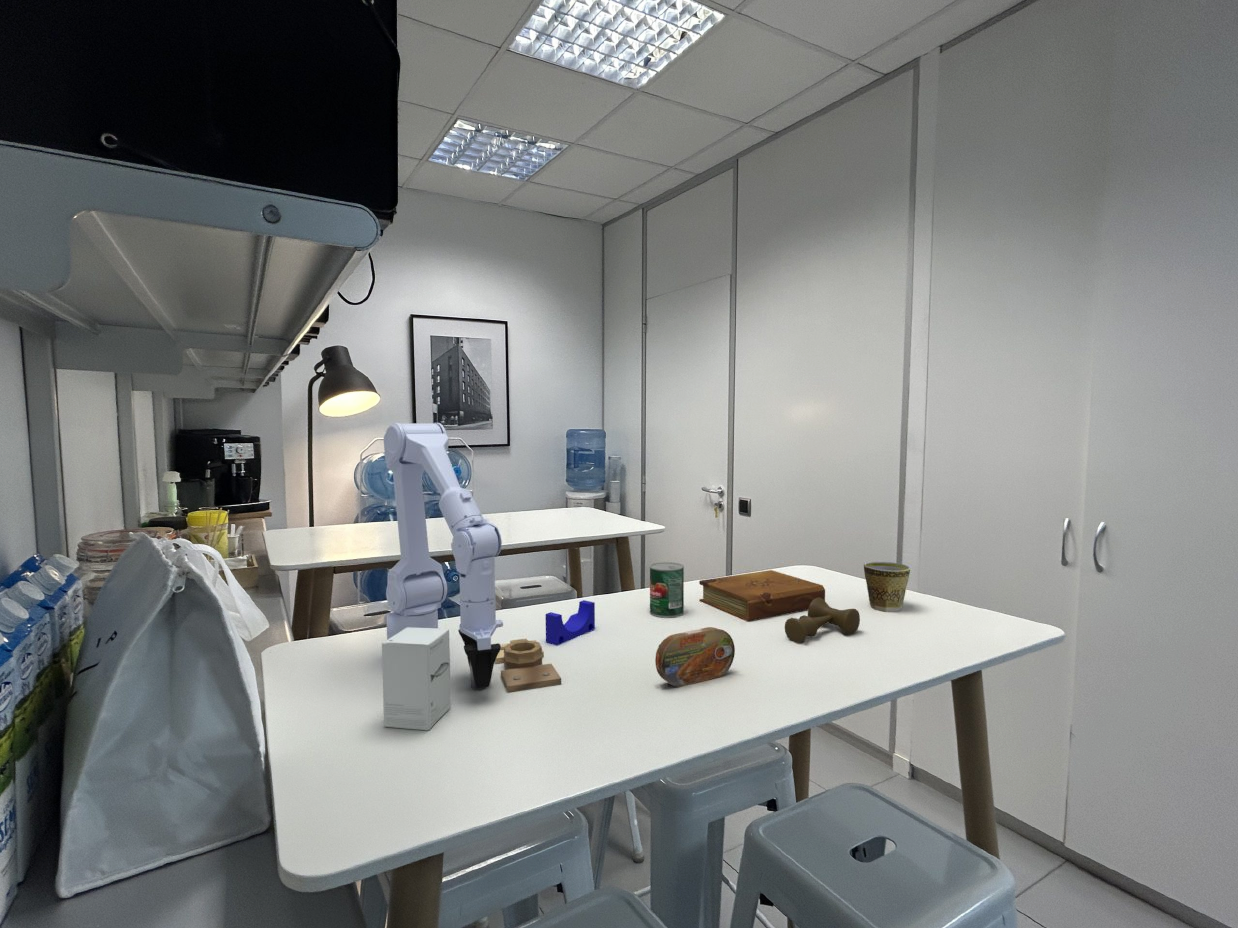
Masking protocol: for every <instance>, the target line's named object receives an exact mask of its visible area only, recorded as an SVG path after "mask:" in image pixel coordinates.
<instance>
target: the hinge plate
mask: <svg viewBox="0 0 1238 928" xmlns="http://www.w3.org/2000/svg"><path fill="white" fill-rule="evenodd" d="M503 666H504V669H503V670H500V677H501V680H502V682H503V684H504V687H505V689H506V692H507V693H512V692H519V691H520V692H521V691H525V690H531V689H539V688H544V687H552V686H557V685H559V686H560V685H562V678H561V676H560V674H559V673H558V670H556V669H555V667H554V665H553V664H552V663H544V664H543V657H541V658H539V659H538V660H536V661H535V662H529V663H522V664H517V663H511V662H506V660H505V658H504V663H503Z"/></svg>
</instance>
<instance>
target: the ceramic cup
mask: <svg viewBox="0 0 1238 928" xmlns="http://www.w3.org/2000/svg"><path fill="white" fill-rule="evenodd" d="M863 570H864V572H863V573H864V578H865V582H866V589H867V593H868V594H867V595H868V601H869V606H870V607H871V608H872V609H873V610H874V611H875V610H876V611H879V612H880V611H881V612H885V613H897V612H899V611H901V610H903V606H904V601H905V600H904V599H905V596H906V592H907V586H908V583H909V579H910V573H911V567H910V566H908V565H906V564H903V563H899V562H893V561H892V562H891V561H869V562H865V563H863Z"/></svg>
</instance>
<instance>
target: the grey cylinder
mask: <svg viewBox="0 0 1238 928" xmlns="http://www.w3.org/2000/svg"><path fill="white" fill-rule="evenodd" d="M469 672H470V673H469V679H470V680H469V686H470V689H471V690H473V691H484V690H486V689H488V688H489V687H485V688H478V689H477V688H476V686H475V682H474V678H473V672H472V667H471V663H470V667H469Z"/></svg>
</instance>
